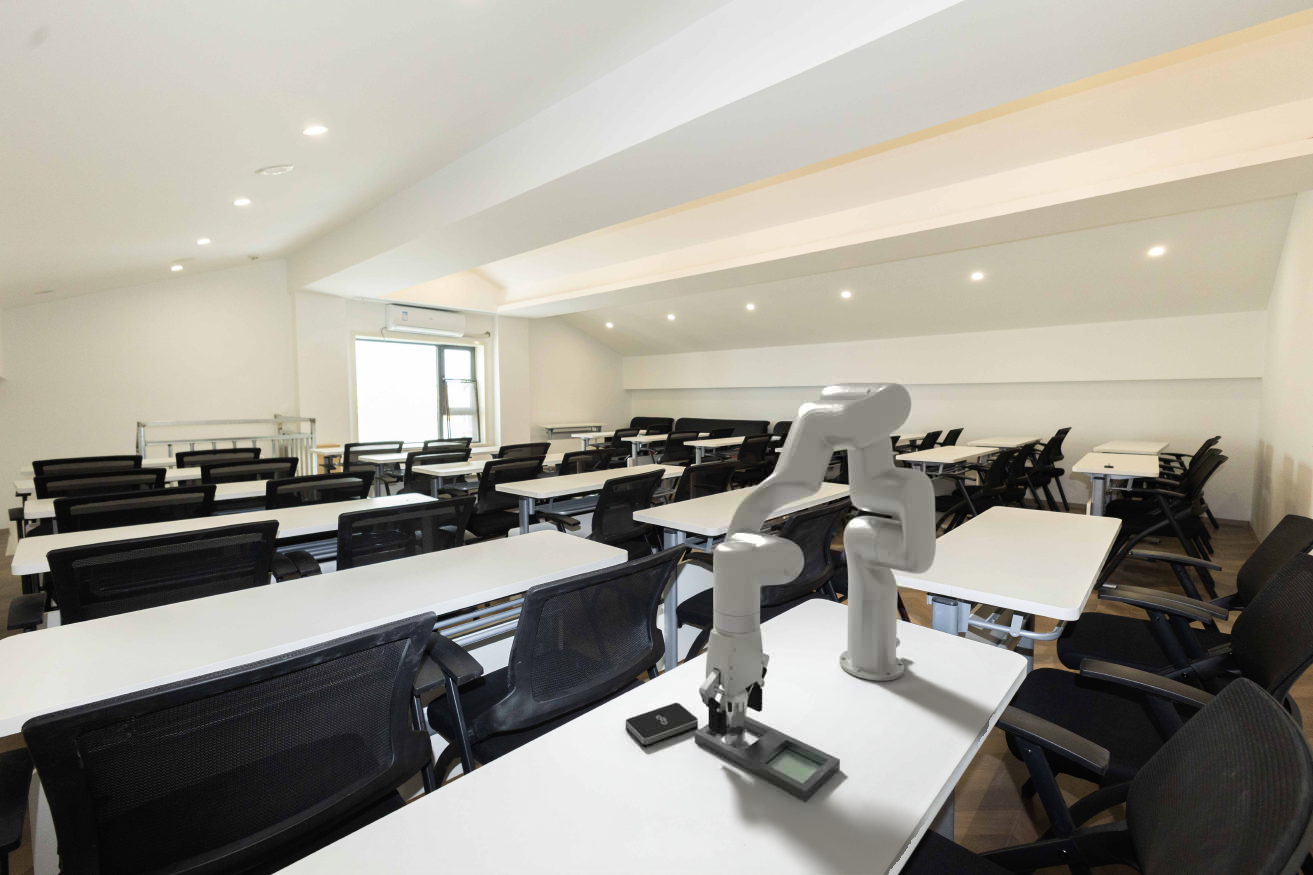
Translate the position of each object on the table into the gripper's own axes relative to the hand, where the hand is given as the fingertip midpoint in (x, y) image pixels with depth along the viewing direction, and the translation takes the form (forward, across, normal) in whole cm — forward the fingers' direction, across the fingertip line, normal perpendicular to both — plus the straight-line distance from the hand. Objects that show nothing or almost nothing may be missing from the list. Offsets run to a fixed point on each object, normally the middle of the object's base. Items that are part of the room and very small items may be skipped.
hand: (736, 719), depth 97 cm
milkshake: (+4, 0, 0) cm, 4 cm away
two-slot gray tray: (+4, 0, +5) cm, 7 cm away
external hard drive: (+4, +6, -12) cm, 14 cm away
